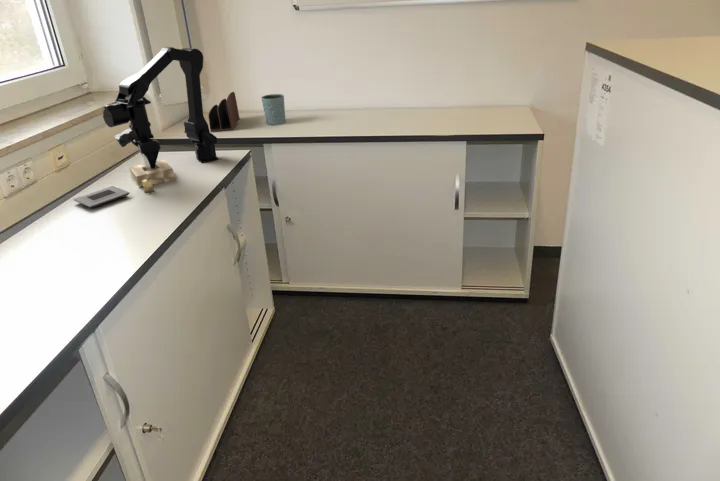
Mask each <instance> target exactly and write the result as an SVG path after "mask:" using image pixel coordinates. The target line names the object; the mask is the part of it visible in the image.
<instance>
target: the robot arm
mask: <svg viewBox="0 0 720 481" xmlns="http://www.w3.org/2000/svg"><path fill="white" fill-rule="evenodd" d="M173 61H178V63H179V66H180V69H181V70H182V72H183V74H184V76H185V78H184V79H185V86H186V95H187V96H186V97H187V105H188V106H187V108H188V115H189V116H188V119H187V121H183V126H184V134H185V135H186V137H187V138H188V140H190V142H191V143H192V144H195V145H194V146H195V148H194V152H195V158H196V160H197V161H199V162H200V163H208V162H213V161H217V160H219V157H218V156H217V150H216V147H215V145H216V144H217V143H218V137H217V136H216V135H214V134H213V133H212V132H211V131H210V126H209V124H208V122H207V120H206V118H205V117H204V107H203V97H202V85H201V73H202V70H203V68H204V54H203V52H202V51H201V50H200V49H198V48H193V47H192V48H191V47H190V48H189V47H183V48H181V49H180V48H175V47H173V46H163V47H162V48H161V49H160V51H159V52H158V53H157V54H156V55H155V56H154V57H153V58H152V59H151V60H150V61H148V63H147V64H146V65H145V66H144V67H142V69H141V70H139V71H138V72H136V73H134V74H133V75H131V76H128V77H127V78H125V79H124V80H122V81H121V82H120V83H119V85H118V93H117V95H116V99H115V101H114V103H112V104H105V105H103V107H104V108H103V109H104V110H103V111H102V113H103V114H102V118H103V120H104V123H105V124H106V126H107V127H109V128H114V127H117V126H122V125H125V124H128V123H129V124H128V128H127V129H125V130H122V131H121V132H119V133H118V134H116V135H114V139H115V140H116V141H117V143H118V144H119V146H121V148H124V147H126V146H127V145H129V144H130V143H132V144H133V146H135V147H137V148H138V150H139V152H140V154H141V155H142V154H144V155H146V158H147V160H148V162H149V164H150V167H151V168H152V169H154V168H155V165H156V161H158V156H159V154H160V153H159V152H160V149H161V143H160V142H159V141H158V140H157V139H154V138H155V137H154V134H153V133H152V129H151V126H152V124H151V122H150V121H149V120H150V119H149V117H148V113H147V108H146V105H150V104H151V103H152V102H151V100H149V99H148V98H146V97H145V95H146V93H147V92H148V91H149V88H150V85H151V83H152V82H153V81H154V80H155V79H156V78H157V77H158V76H159V75H160V74H161V73H162V72H163V71H164V70H166V68H167V67H168V66H169V65H170V64H171V63H172V62H173ZM142 157H143V155H142Z"/></svg>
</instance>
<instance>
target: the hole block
mask: <svg viewBox="0 0 720 481" xmlns="http://www.w3.org/2000/svg"><path fill="white" fill-rule="evenodd" d="M128 169H129V173H130V177H131V179H132V178H133V179H132V180H133V182H134V181H135V182H136V183H135V182H134V183H135V184H136V186H137V185H138V186H139V187H141V186H143V184H142V180H144V179H152V183H153V184H154V185H158V184H162V183H166V182H170V180H171V181H174V179H175V180H176V177H175V173H174V168H173V167H172V166H171V165H170V164H169V163H168V162H167V161H166V160H165V159H161V160H157V161H156V165H155V169H153V170H148V171H146V167H145V163H142V164H137V165H136V164H135V165H133V166H129V167H128ZM161 182H162V183H161ZM157 183H158V184H157ZM138 186H137V187H138ZM139 187H138V188H139ZM141 188H142V187H141Z"/></svg>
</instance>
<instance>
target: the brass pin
mask: <svg viewBox="0 0 720 481" xmlns="http://www.w3.org/2000/svg"><path fill="white" fill-rule="evenodd" d="M142 184H143V187H142V188H143V191H144V194H146V193H149V194H153V193H154V192H155V189H154V185H153V183H152V179H144V180H142ZM152 192H153V193H152Z"/></svg>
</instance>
